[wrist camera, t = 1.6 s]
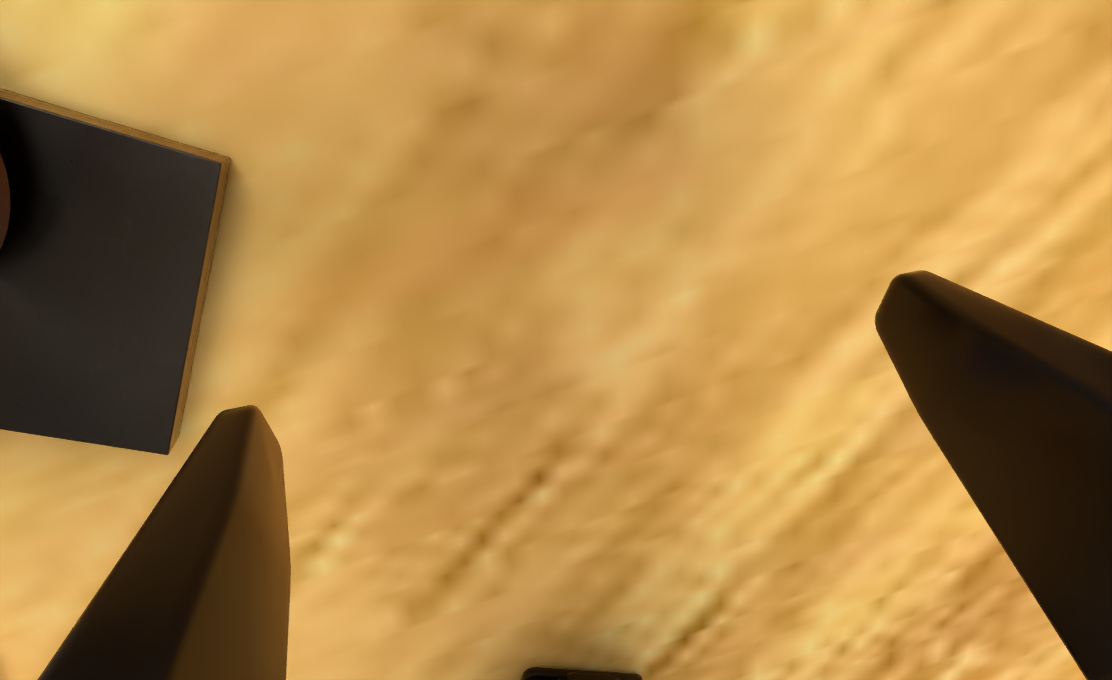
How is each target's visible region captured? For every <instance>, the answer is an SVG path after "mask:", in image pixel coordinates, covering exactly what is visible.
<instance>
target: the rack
mask: <svg viewBox="0 0 1112 680" xmlns="http://www.w3.org/2000/svg"><path fill="white" fill-rule="evenodd" d="M229 165H230V158H229V157H226V156H222V155H219V154H216V153H212V152H209V151H206V150H202V149H199V148H196V147H193V146H189V145H186V144H183V143H179V142H176V141H173V140H169V139H166V138H163V137H159V136H156V135H153V134H149V133H146V132H143V131H139V130H136V129H133V128H129V127H126V126H123V125H120V124H116V123H113V122H110V121H106V120H103V119H100V118H96V117H93V116H90V115H86V114H83V113H80V112H76V111H73V110H70V109H66V108H63V107H60V106H57V105H53V104H50V103H47V102H43V101H40V100H37V99H33V98H30V97H27V96H23V95H20V94H17V93H13V92H10V91H7V90H3V89H0V429H3V430H9V431H16V432H22V433H29V434H35V435H41V436H48V437H54V438H61V439H67V440H74V441H80V442H87V443H93V444H100V445H106V446H112V447H119V448H125V449H132V450H138V451H145V452H151V453H158V454H164V455H168V454H169V452H170V451H171V449H172V447H173V445H174V444H175V442H176V440H177V438H178V437H179V432H180V426H181V421H182V416H183V410H184V405H185V400H186V394H187V389H188V384H189V378H190V373H191V368H192V362H193V357H194V352H195V346H196V341H197V336H198V330H199V325H200V320H201V314H202V309H203V304H204V298H205V293H206V288H207V283H208V277H209V272H210V267H211V261H212V256H213V251H214V245H215V240H216V235H217V229H218V224H219V219H220V213H221V208H222V203H223V197H224V192H225V187H226V181H227V176H228V171H229Z"/></svg>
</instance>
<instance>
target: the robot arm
mask: <svg viewBox="0 0 1112 680" xmlns="http://www.w3.org/2000/svg"><path fill="white" fill-rule="evenodd" d="M875 325H876V329H877V332H878V334H879V336H880V338H881V340H882V342H883V344H884V346H885V348H886V350H887V352H888V354H889V356H890V358H891V360H892V362H893V364H894V366H895V368H896V370H897V372H898V374H899V376H900V378H901V380H902V382H903V384H904V386H905V388H906V390H907V392H908V394H909V396H910V398H911V400H912V402H913V404H914V406H915V408H916V410H917V412H918V414H919V415H920V417H921V419H922V420H923V422H924V424H925V425H926V427H927V429H928V430H929V432H930V433H931V435H932V437H933V438H934V440H935V441H936V443H937V445H938V446H939V448H940V449H941V451H942V452H943V454H944V456H945V457H946V459H947V460H948V462H949V463H950V465H951V467H952V468H953V470H954V471H955V473H956V474H957V476H958V478H959V479H960V481H961V482H962V484H963V485H964V487H965V489H966V490H967V492H968V493H969V495H970V496H971V498H972V500H973V501H974V503H975V504H976V506H977V508H978V509H979V511H980V512H981V514H982V515H983V517H984V519H985V520H986V522H987V523H988V525H989V526H990V528H991V530H992V531H993V533H994V534H995V536H996V537H997V539H998V541H999V542H1000V544H1001V545H1002V547H1003V548H1004V550H1005V552H1006V553H1007V555H1008V556H1009V558H1010V560H1011V561H1012V563H1013V564H1014V566H1015V567H1016V569H1017V571H1018V572H1019V574H1020V575H1021V577H1022V578H1023V580H1024V582H1025V583H1026V585H1027V586H1028V588H1029V589H1030V591H1031V593H1032V594H1033V596H1034V597H1035V599H1036V600H1037V602H1038V604H1039V605H1040V607H1041V608H1042V610H1043V612H1044V613H1045V615H1046V616H1047V618H1048V619H1049V621H1050V623H1051V624H1052V626H1053V627H1054V629H1055V630H1056V632H1057V634H1058V635H1059V637H1060V638H1061V640H1062V641H1063V643H1064V645H1065V646H1066V648H1067V649H1068V651H1069V652H1070V654H1071V656H1072V657H1073V659H1074V660H1075V662H1076V663H1077V665H1078V667H1079V668H1080V670H1081V671H1082V673H1083V675H1084V676H1085V678H1086V679H1087V680H1112V352H1111V351H1109V350H1107V349H1105V348H1102V347H1100V346H1098V345H1095V344H1093V343H1091V342H1089V341H1086V340H1084V339H1082V338H1079V337H1077V336H1075V335H1073V334H1070V333H1068V332H1066V331H1063V330H1061V329H1059V328H1056V327H1054V326H1052V325H1050V324H1047V323H1045V322H1043V321H1040V320H1038V319H1036V318H1034V317H1031V316H1029V315H1027V314H1024V313H1022V312H1020V311H1018V310H1015V309H1013V308H1011V307H1008V306H1006V305H1004V304H1001V303H999V302H997V301H995V300H992V299H990V298H988V297H985V296H983V295H981V294H979V293H976V292H974V291H972V290H969V289H967V288H965V287H963V286H960V285H958V284H956V283H953V282H951V281H949V280H947V279H944V278H942V277H940V276H937V275H935V274H933V273H931V272H928V271H914V272H909V273H904V274H900V275H897V276H896V277H895V278H893V280H892V281H891V283H890V285H889V287H888V289H887V291H886V293H885V295H884V297H883V300H882V302H881V304H880V306H879V308H878V310H877V312H876V315H875ZM290 576H291V564H290V547H289V535H288V522H287V509H286V496H285V484H284V471H283V459H282V452H281V448H280V445H279V443H278V441H277V439H276V437H275V435H274V433H273V432H272V430H271V428H270V426H269V425H268V423H267V421H266V419H265V418H264V416H263V414H262V413H261V411H260V410H259V409H258V408H257V407H256V406H254V405H248V406H243V407H238V408H233V409H228V410H225V411H222V412H221V413H219V414H218V415H217V416H216V418H215V419H214V421H213V422H212V424H211V425H210V427H209V428H208V429H207V431H206V432H205V434H204V435H203V437H202V438H201V440H200V441H199V443H198V444H197V446H196V447H195V449H194V450H193V452H192V453H191V455H190V456H189V458H188V459H187V460H186V462H185V463H184V465H183V466H182V468H181V469H180V471H179V472H178V474H177V475H176V477H175V478H174V480H173V481H172V483H171V484H170V486H169V487H168V488H167V490H166V491H165V493H164V494H163V496H162V497H161V499H160V500H159V502H158V503H157V505H156V506H155V508H154V509H153V511H152V512H151V514H150V515H149V516H148V518H147V519H146V521H145V522H144V524H143V525H142V527H141V528H140V530H139V531H138V533H137V534H136V536H135V537H134V539H133V540H132V542H131V543H130V544H129V546H128V547H127V549H126V550H125V552H124V553H123V555H122V556H121V558H120V559H119V561H118V562H117V564H116V565H115V567H114V568H113V570H112V571H111V572H110V574H109V575H108V577H107V578H106V580H105V581H104V583H103V584H102V586H101V587H100V589H99V590H98V592H97V593H96V595H95V596H94V598H93V599H92V600H91V602H90V603H89V605H88V606H87V608H86V609H85V611H84V612H83V614H82V615H81V617H80V618H79V620H78V621H77V623H76V624H75V626H74V627H73V628H72V630H71V631H70V633H69V634H68V636H67V637H66V639H65V640H64V642H63V643H62V645H61V646H60V648H59V649H58V651H57V652H56V654H55V655H54V656H53V658H52V659H51V661H50V662H49V664H48V665H47V667H46V668H45V670H44V671H43V673H42V674H41V676H40V677H39V679H38V680H286V665H287V645H288V624H289V603H290ZM521 680H643V679H642V677H641V676H640V675H637V674H625V673H611V672H596V671H581V670H567V669H552V668H537V667H535V668H530V669H528V670H526V671H525V672H524V674H523V675H522V678H521Z"/></svg>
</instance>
